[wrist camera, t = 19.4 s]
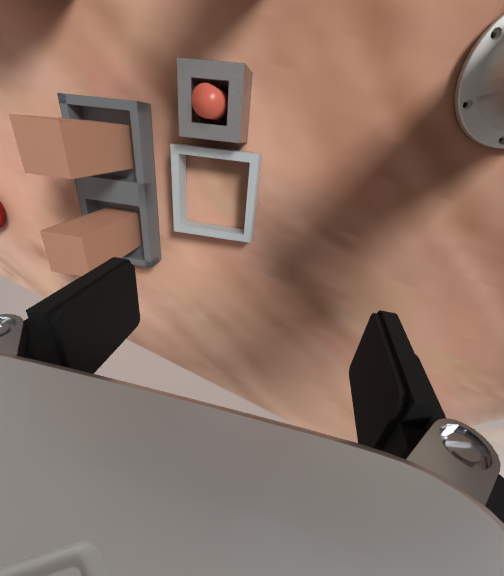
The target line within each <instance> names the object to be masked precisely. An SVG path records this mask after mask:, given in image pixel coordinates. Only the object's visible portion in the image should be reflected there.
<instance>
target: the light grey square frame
mask: <svg viewBox="0 0 504 576" xmlns="http://www.w3.org/2000/svg"><path fill="white" fill-rule="evenodd" d="M170 150H171V173H172V197H173V220H174V231H176V232H183V233H189V234H196V235H202V236H209V237H215V238H222V239H228V240H235V241H242V242H248V243H251V241H252V239H253V236H254V227H255V217H256V207H257V197H258V188H259V178H260V168H261V158H262V153H255V152H247V151H239V150H230V149H222V148H213V147H205V146H196V145H188V144H179V143H177V144H170ZM186 155H192V156H200V157H209V158H217V159H225V160H233V161H241V162H250V167H249V179H248V191H247V203H246V215H245V226H244V229H241V228H234V227H227V226H220V225H214V224H207V223H200V222H193V221H187V179H186Z"/></svg>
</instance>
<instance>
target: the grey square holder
mask: <svg viewBox="0 0 504 576" xmlns="http://www.w3.org/2000/svg"><path fill="white" fill-rule="evenodd" d="M252 73H253V72H252V71H251V70H250V69H249V68H248V67H247V65H246V64H245V63H237V62H225V61H213V60H201V59H189V58H177V83H178V118H179V136H181V137H190V138H199V139H208V140H216V141H225V142H234V143H247V137H248V124H249V111H250V99H251V86H252ZM201 83H209V84H211V85H217V86H227V87H229V91H228V113H227V126H222V125H212V124H205V118H203V117H201V116H199V115H198V114H197V113H196V112H195V110H194V108H193V106H192V100H191V99H192V93H193V90H194V89H195V87H196V86H197V85H199V84H201Z"/></svg>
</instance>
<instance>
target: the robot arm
mask: <svg viewBox="0 0 504 576" xmlns="http://www.w3.org/2000/svg"><path fill="white" fill-rule="evenodd" d="M491 33H492V34H493V38H492V39H491V37H490V36H491ZM464 102H465V103H466V106H465V107H464V108H463V104H464ZM455 111H456V116H457V119H458V122H459V124H460V126H461V128H462V130H463V131H464V132H465V133H466V135H467V136H468V137H469V138H471V139H472V140H474V141H475V142H476V143H479V144H481V145H484V146H486V147H492V148H504V13H503V14H502V15H501V16H499V17H498V18H497V19H496V20H495V21H494V22H493V23H492V24H491V25H490V26H489V27H488V28H487V29H486V30H485V31H484V32H483V33H482V35H481V36H480V37H479V39H478V40H477V42H476V43H475V44H474V46H473V47H472V49H471V50H470V52H469V54H468V56H467V58H466V60H465V61H464V63H463V66H462V69H461V71H460V74H459V77H458V80H457V85H456V90H455ZM500 138H501V141H500V142H499V139H500ZM26 312H27V315H28V319H26V320H25V321H23V319H22V318H21V317H19V316H17V315H13V314H1V315H0V576H504V478H503V477H502V476H501V475H499V472H500V461H499V458H498V455H497V453H496V452H495V450H494V449H493V447H492V446H491V444H490V443H489V442H488V441H487V440H486V439H485V438H484V437H483V436H482V435H480V434H479V433H478V432H477V431H475V430H474V429H472V428H471V427H469V426H468V425H466V424H464V423H462V422H459V421H457V420H453V419H447V418H446V417H445V414H444V412H443V410H442V408H441V406H440V403H439V401H438V399H437V397H436V395H435V392H434V390H433V388H432V386H431V384H430V382H429V379H428V377H427V375H426V373H425V371H424V368H423V366H422V364H421V362H420V360H419V358H418V356H417V355H415V353H414V351H413V349H412V346H411V344H410V342H409V340H408V338H407V335H406V333H405V331H404V329H403V326H402V324H401V322H400V320H399V317H398V315H397V314H395V313H390V312H386V311H381V310H380V311H378V312H377V314H376V313H372V315H371V316H370V319H369V321H368V324H367V326H366V329H365V331H364V333H363V336H362V338H361V341H360V343H359V346H358V348H357V351H356V353H355V355H354V358H353V360H352V363H351V365H350V369H349V379H350V386H351V393H352V401H353V408H354V415H355V423H356V430H357V437H358V443H355V442H351V441H348V440H344V439H341V438H337V437H334V436H330V435H326V434H323V433H319V432H316V431H312V430H309V429H305V428H301V427H297V426H293V425H290V424H286V423H282V422H278V421H274V420H271V419H267V418H263V417H259V416H255V415H252V414H248V413H243V412H240V411H236V410H233V409H228V408H225V407H221V406H217V405H213V404H209V403H205V402H201V401H197V400H194V399H190V398H186V397H182V396H178V395H174V394H170V393H167V392H163V391H159V390H155V389H151V388H147V387H143V386H139V385H135V384H131V383H127V382H123V381H119V380H115V379H111V378H107V377H103V376H99V375H95V374H94V373H95V372H96V371H97V369H98V368H99V367H100V366H101V365H102V364H103V363H104V362H105V361H106V360H107V359H108V358H109V356H110V355H111V354H112V353H113V352H114V351H115V350H116V349H117V348H118V347H119V346H120V345H121V344H122V342H123V341H124V340H125V339H126V338H127V337H128V336H129V335H130V334H131V333H132V332H133V331H134V329H135V328H136V327H137V326H138V324H139V322H140V312H139V303H138V294H137V284H136V275H135V267H134V265H133V264H131V262H130V260H128V259H123V258H118V257H112V258H111V259H109V260H107V261H106V262H104V263H103V264H101V265H99V266H98V267H96V268H94V269H93V270H91V271H89V272H88V273H86V274H84V275H83V276H81V277H80V278H78V279H76V280H75V281H73V282H71V283H70V284H68V285H66V286H65V287H63V288H62V289H60V290H58V291H57V292H55V293H53V294H52V295H50V296H48V297H47V298H45V299H44V300H42V301H40V302H39V303H37V304H36V305H34V306H32V307H30V308H29V309H27V310H26Z"/></svg>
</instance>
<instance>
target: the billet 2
mask: <svg viewBox="0 0 504 576" xmlns="http://www.w3.org/2000/svg"><path fill="white" fill-rule="evenodd" d="M40 232H41V236H42V239H43V243H44V246H45V250H46V253H47V257H48V260H49V264H50V267H51V271H53V272H59V273H64V274H70V275H76V276H83V275H84V274H86V273H88V272H89V271H91V270H93V269H94V268H96V267H98V266H99V265H101V264H103V263H104V262H106V261H107V260H109V259H111V258H112V257H118V258H122V257H124V256H125V255H127V254H128V253H130V252H131V251H133V250H134V249H136V248H137V247H139V246H141V245H142V244H143V243H142V233H141V223H140V213H139V212H137V211H130V210H123V209H117V208H110V207H107V208H104V209H101V210H98V211H95V212H92V213H89V214H87V215H84V216H81V217H78V218H75V219H72V220H69V221H66V222H64V223H61V224H58V225H55V226H52V227H49V228H46V229H43V230H41V231H40Z"/></svg>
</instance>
